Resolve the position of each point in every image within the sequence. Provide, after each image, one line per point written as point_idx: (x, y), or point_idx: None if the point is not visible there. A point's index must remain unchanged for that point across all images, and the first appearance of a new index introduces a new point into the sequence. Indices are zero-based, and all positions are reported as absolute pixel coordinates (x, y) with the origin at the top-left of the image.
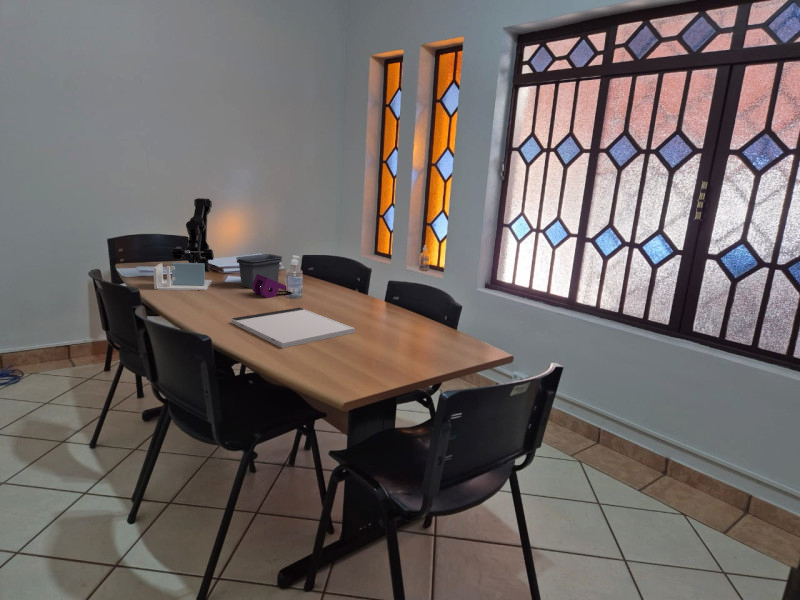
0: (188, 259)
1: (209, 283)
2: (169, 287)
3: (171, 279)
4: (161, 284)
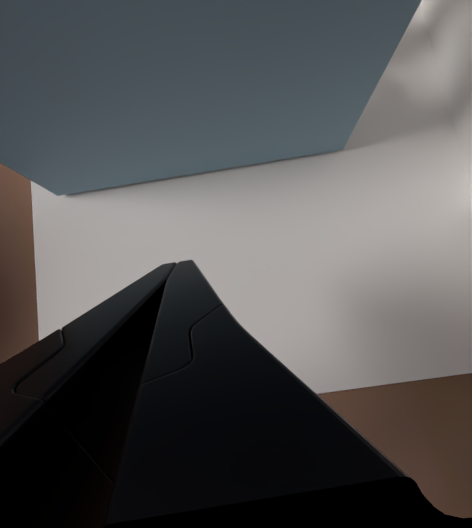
0: (224, 323)
1: (38, 282)
2: None
3: (455, 358)
4: (439, 108)
